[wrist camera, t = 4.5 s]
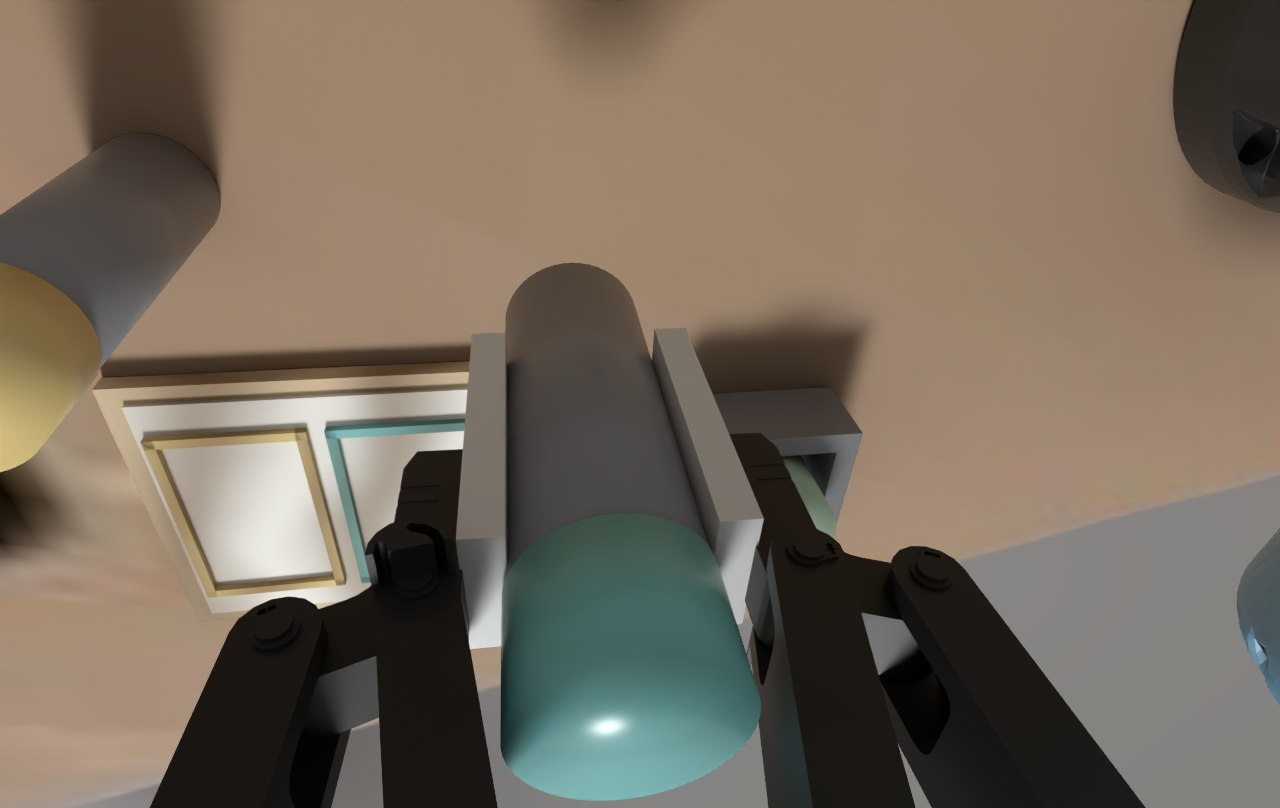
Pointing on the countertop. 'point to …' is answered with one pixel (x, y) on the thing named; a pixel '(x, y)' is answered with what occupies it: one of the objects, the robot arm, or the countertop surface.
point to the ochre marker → (89, 273)
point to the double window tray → (278, 470)
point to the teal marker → (606, 562)
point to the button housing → (800, 431)
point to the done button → (811, 494)
